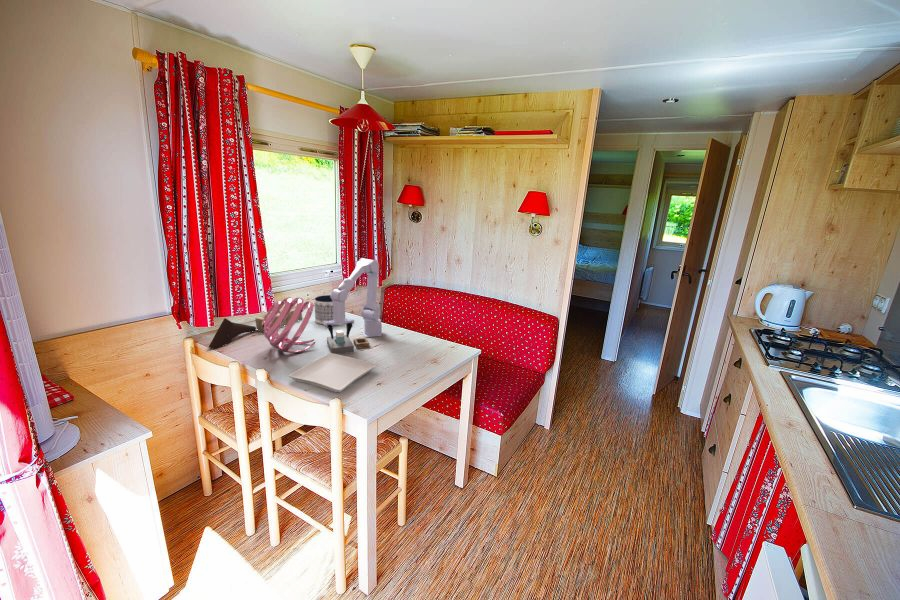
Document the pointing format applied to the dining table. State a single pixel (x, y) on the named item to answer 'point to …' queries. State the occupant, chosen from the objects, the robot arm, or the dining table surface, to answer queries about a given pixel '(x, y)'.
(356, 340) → the plug holster
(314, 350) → the dining table surface
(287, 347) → the spiral basket
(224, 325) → the holster
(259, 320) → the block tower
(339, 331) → the plug
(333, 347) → the port block
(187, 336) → the dining table surface
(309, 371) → the square plate
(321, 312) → the planter
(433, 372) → the dining table surface
